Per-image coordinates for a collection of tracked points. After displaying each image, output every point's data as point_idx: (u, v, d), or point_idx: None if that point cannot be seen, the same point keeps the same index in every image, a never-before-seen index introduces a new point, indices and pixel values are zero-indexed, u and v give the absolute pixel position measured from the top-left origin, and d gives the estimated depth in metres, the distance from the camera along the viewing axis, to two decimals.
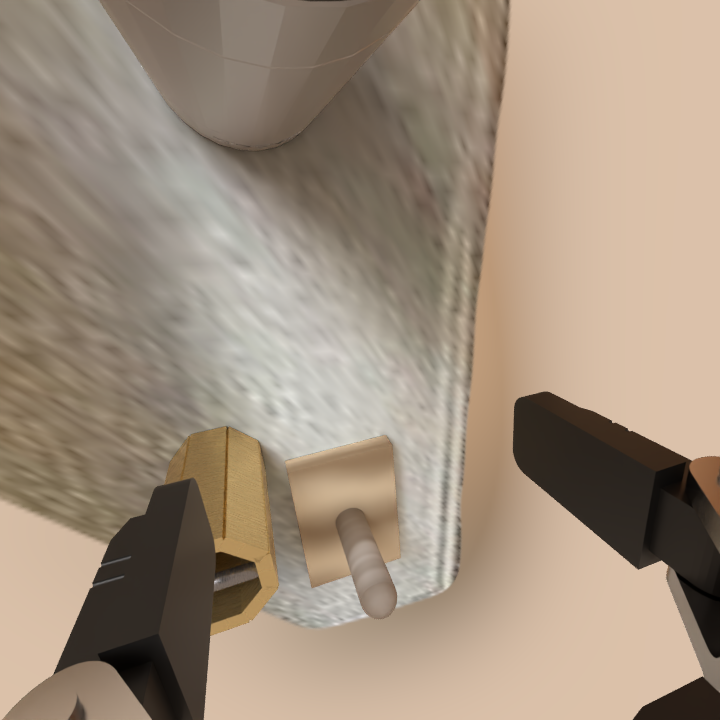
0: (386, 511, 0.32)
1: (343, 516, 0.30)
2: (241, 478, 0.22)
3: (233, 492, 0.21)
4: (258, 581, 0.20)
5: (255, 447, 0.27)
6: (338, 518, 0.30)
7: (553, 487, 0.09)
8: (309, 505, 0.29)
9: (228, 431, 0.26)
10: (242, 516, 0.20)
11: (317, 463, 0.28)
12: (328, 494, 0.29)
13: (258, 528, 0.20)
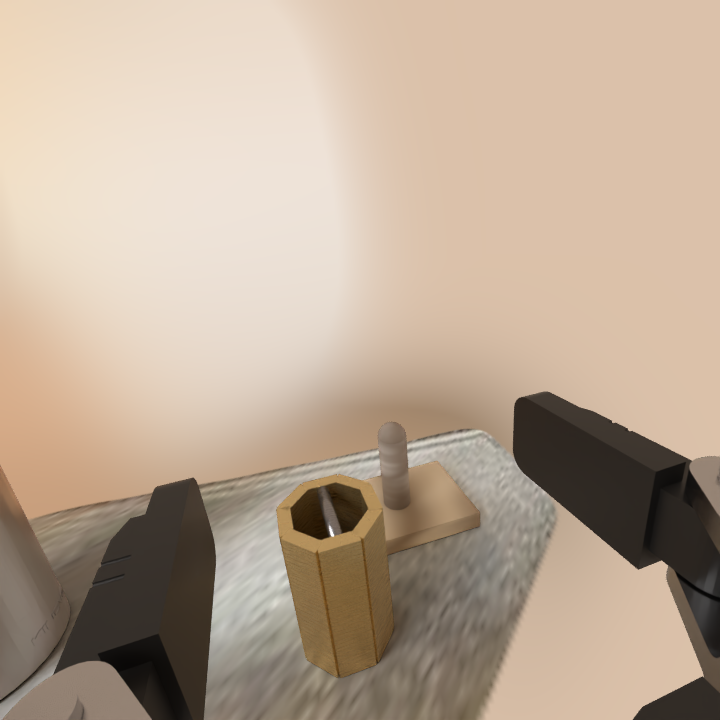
0: None
1: (387, 503, 0.34)
2: None
3: None
4: (340, 490, 0.25)
5: None
6: (393, 507, 0.34)
7: (553, 487, 0.09)
8: None
9: None
10: None
11: None
12: None
13: None
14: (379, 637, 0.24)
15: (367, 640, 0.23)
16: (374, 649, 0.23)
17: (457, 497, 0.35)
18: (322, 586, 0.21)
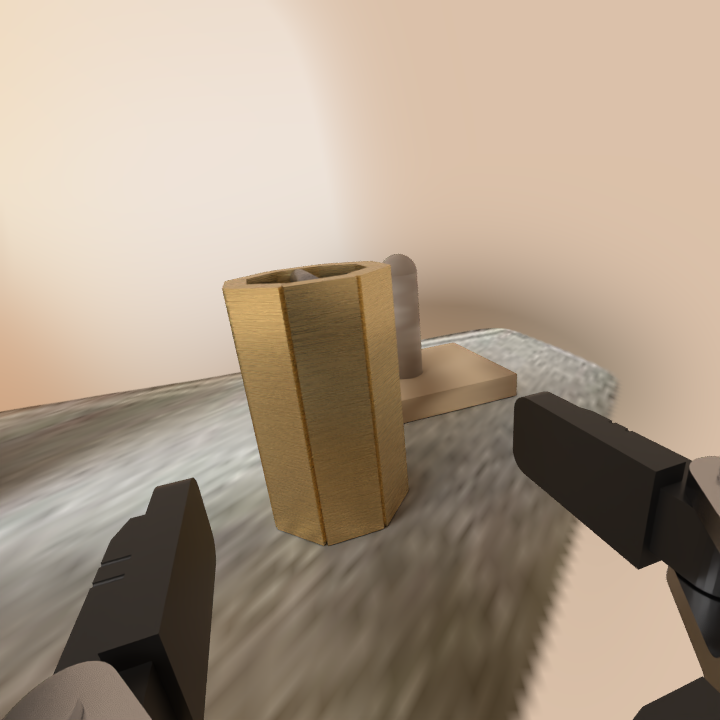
0: None
1: None
2: None
3: None
4: None
5: None
6: (400, 376, 0.26)
7: (553, 487, 0.09)
8: None
9: None
10: None
11: None
12: None
13: None
14: (388, 484, 0.15)
15: (369, 481, 0.15)
16: (380, 500, 0.15)
17: (484, 365, 0.27)
18: (292, 362, 0.12)
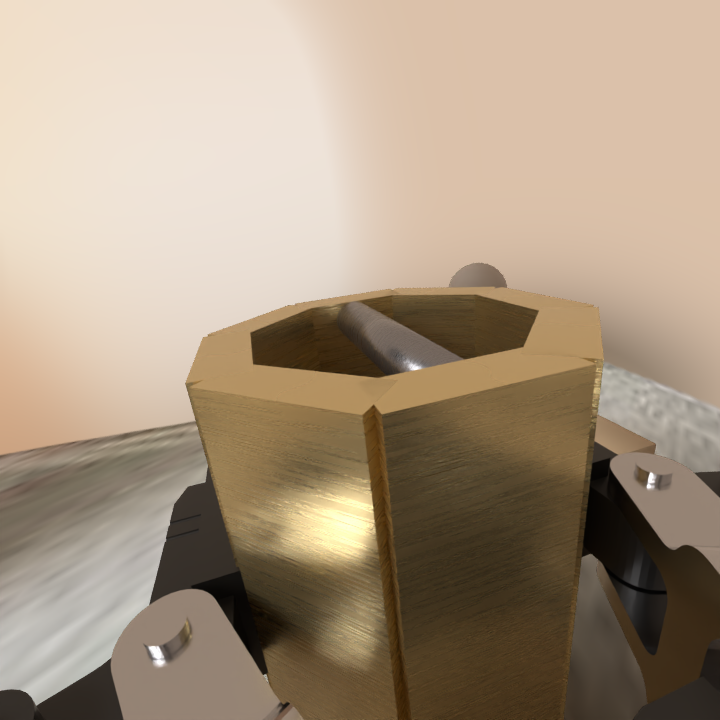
0: None
1: None
2: None
3: None
4: (404, 319, 0.09)
5: None
6: None
7: None
8: None
9: None
10: None
11: None
12: None
13: None
14: None
15: None
16: None
17: None
18: (388, 609, 0.04)
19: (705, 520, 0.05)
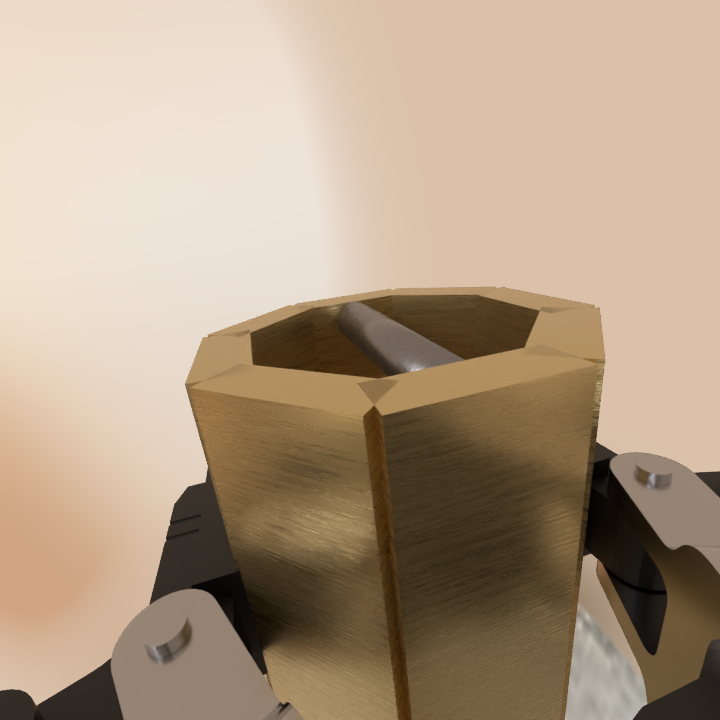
0: None
1: None
2: None
3: None
4: (404, 320, 0.09)
5: None
6: None
7: None
8: None
9: None
10: None
11: None
12: None
13: None
14: None
15: None
16: None
17: None
18: (388, 611, 0.04)
19: (706, 519, 0.05)
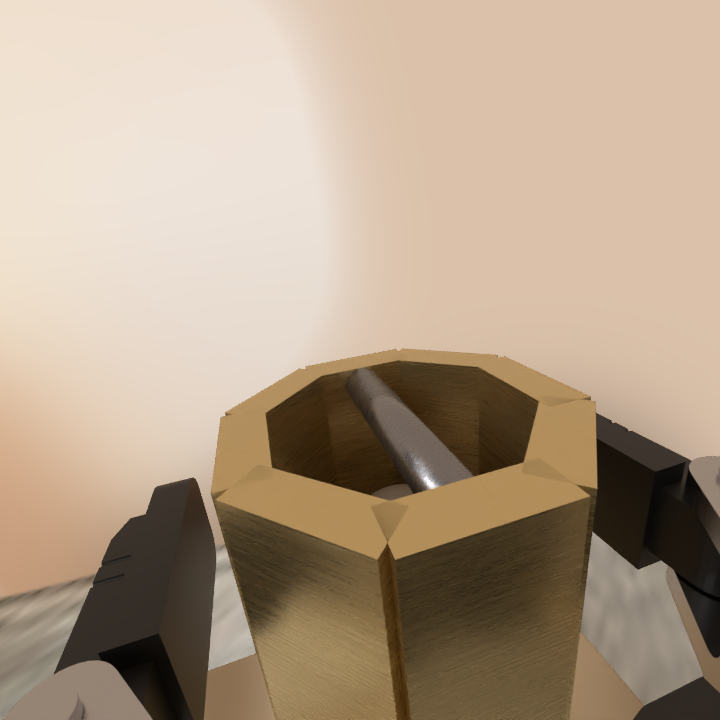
0: None
1: None
2: None
3: None
4: (410, 383, 0.09)
5: None
6: None
7: None
8: None
9: None
10: None
11: None
12: None
13: None
14: None
15: None
16: None
17: None
18: (398, 711, 0.05)
19: None
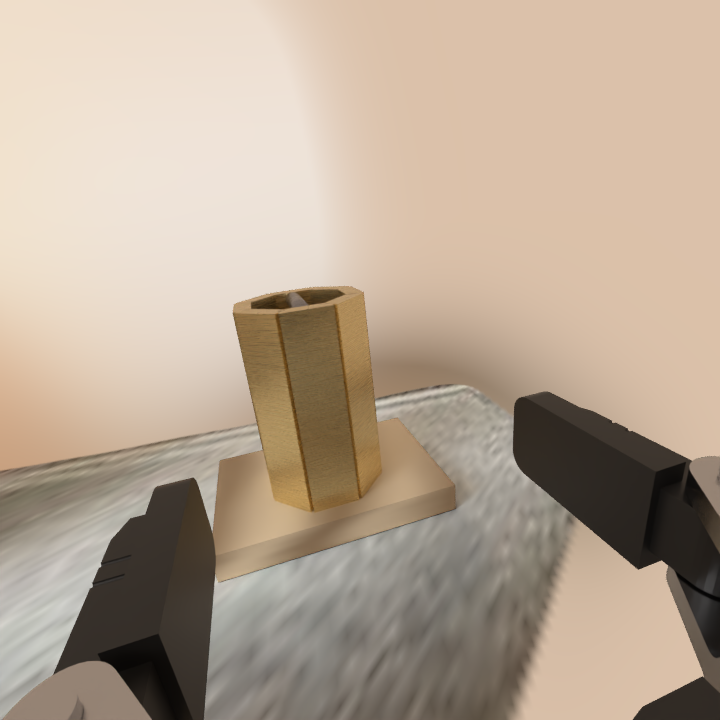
0: None
1: None
2: None
3: None
4: (314, 300, 0.21)
5: None
6: None
7: (553, 487, 0.09)
8: (285, 519, 0.19)
9: None
10: None
11: (214, 526, 0.19)
12: (272, 501, 0.20)
13: None
14: (362, 465, 0.19)
15: (346, 461, 0.19)
16: (356, 477, 0.19)
17: (420, 464, 0.22)
18: (285, 369, 0.17)
19: None
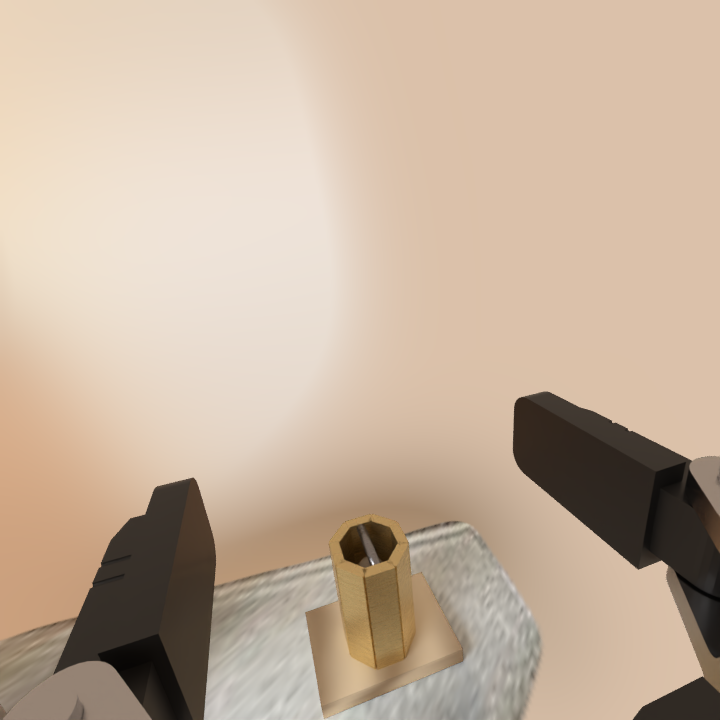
0: None
1: None
2: None
3: None
4: (373, 526, 0.33)
5: None
6: None
7: (553, 487, 0.09)
8: (360, 674, 0.31)
9: (343, 624, 0.35)
10: None
11: (316, 677, 0.31)
12: (349, 657, 0.32)
13: None
14: (406, 639, 0.32)
15: (397, 641, 0.31)
16: (402, 648, 0.31)
17: (440, 626, 0.34)
18: (366, 601, 0.29)
19: None
